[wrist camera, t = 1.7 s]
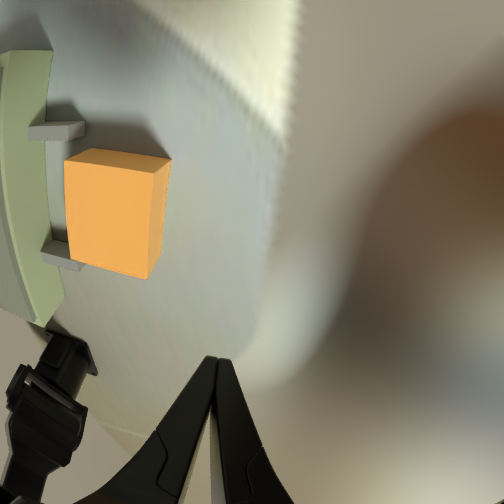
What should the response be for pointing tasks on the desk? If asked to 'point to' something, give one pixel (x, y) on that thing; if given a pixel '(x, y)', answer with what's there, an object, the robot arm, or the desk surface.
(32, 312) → the sage green lidded box
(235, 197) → the desk surface
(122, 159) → the amber cuboid
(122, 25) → the desk surface
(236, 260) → the desk surface
